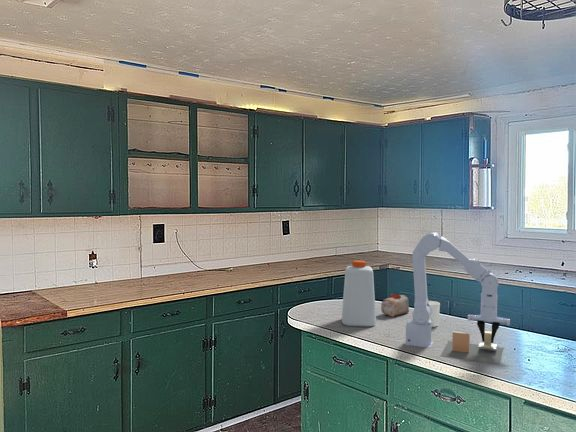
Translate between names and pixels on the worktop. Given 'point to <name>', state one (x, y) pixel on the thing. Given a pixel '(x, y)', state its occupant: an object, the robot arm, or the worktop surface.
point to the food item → (395, 305)
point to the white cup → (434, 313)
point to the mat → (474, 354)
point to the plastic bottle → (359, 295)
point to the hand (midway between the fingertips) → (487, 341)
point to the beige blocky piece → (487, 342)
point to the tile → (461, 342)
